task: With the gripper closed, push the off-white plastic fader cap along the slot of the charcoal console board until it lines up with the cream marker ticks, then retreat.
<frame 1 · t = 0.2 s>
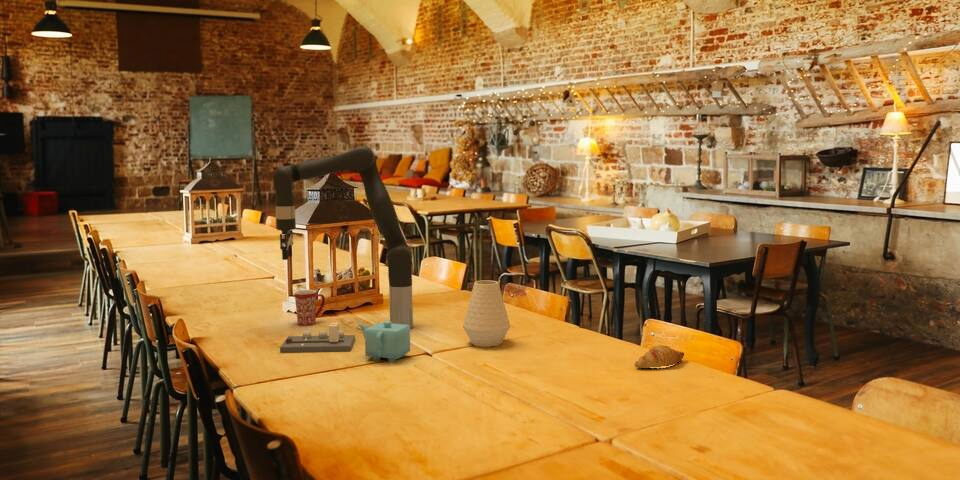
hand: (287, 258, 317), 29 cm above the table, fingers open, 8 cm apart
console: (318, 346, 295), on the table
mug: (310, 323, 332), on the table
vase: (486, 344, 297), on the table
croissant: (658, 366, 268), on the table
teapot: (380, 357, 280), on the table
fader: (334, 332, 293), point 6 cm above the table, slide at -6.0 cm
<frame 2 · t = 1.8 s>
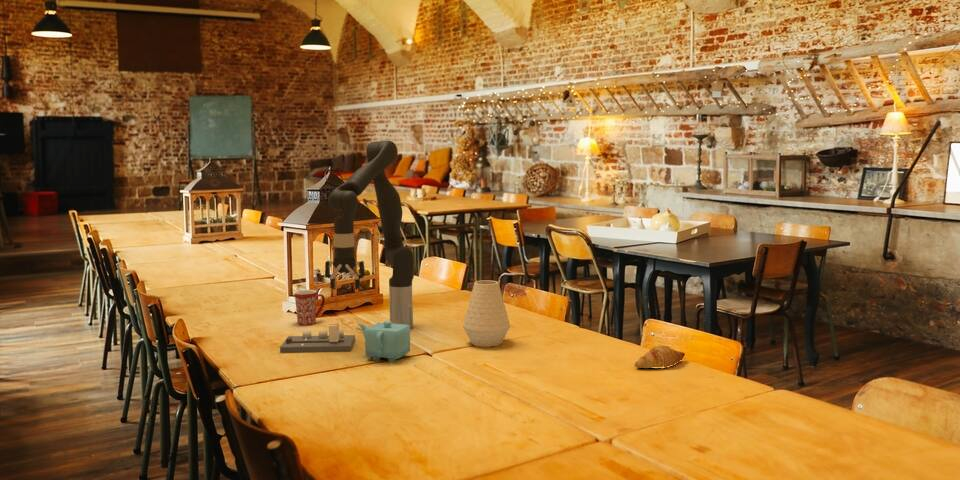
hand: (345, 289, 294), 21 cm above the table, fingers open, 8 cm apart
nothing on the table moved.
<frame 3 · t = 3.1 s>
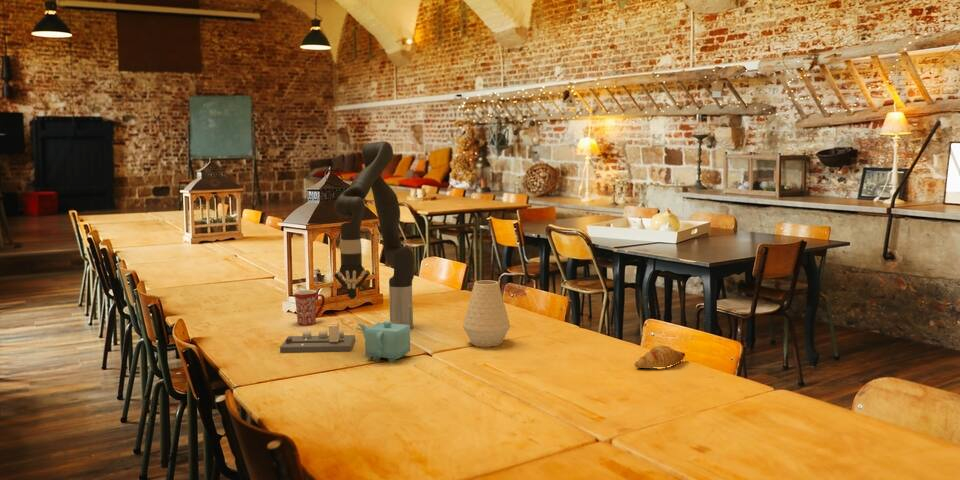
hand: (352, 298, 292), 18 cm above the table, fingers closed
nothing on the table moved.
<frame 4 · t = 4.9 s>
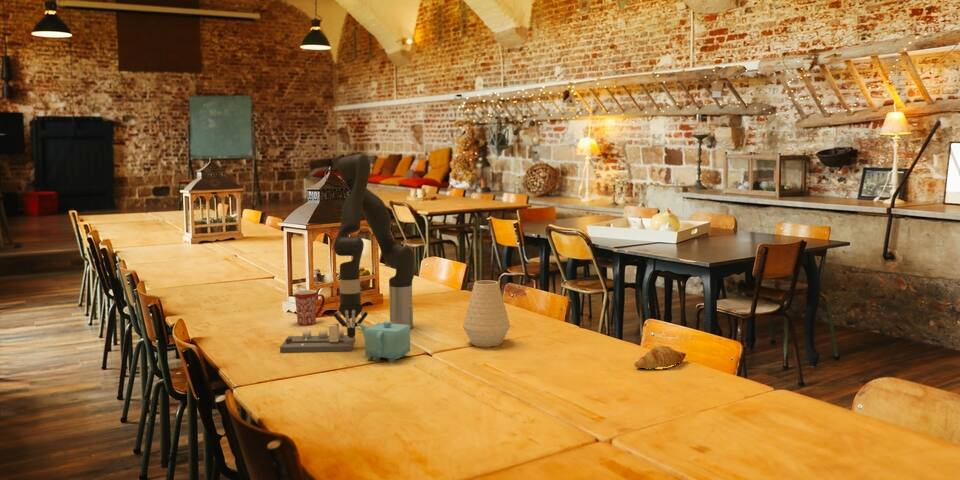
hand: (351, 337, 294), 4 cm above the table, fingers closed
nothing on the table moved.
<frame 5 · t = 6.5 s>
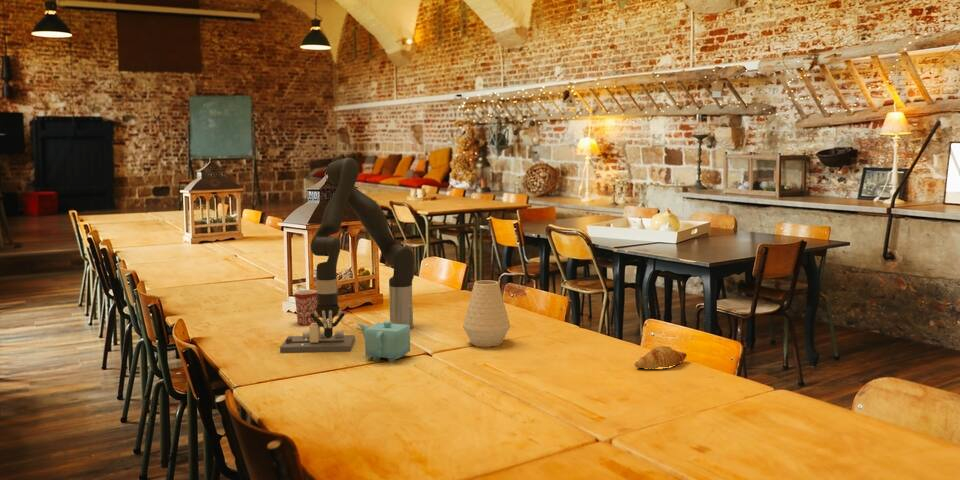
hand: (328, 337, 293), 4 cm above the table, fingers closed
fader: (314, 332, 293), point 6 cm above the table, slide at 1.0 cm, touching hand
everything else where it was.
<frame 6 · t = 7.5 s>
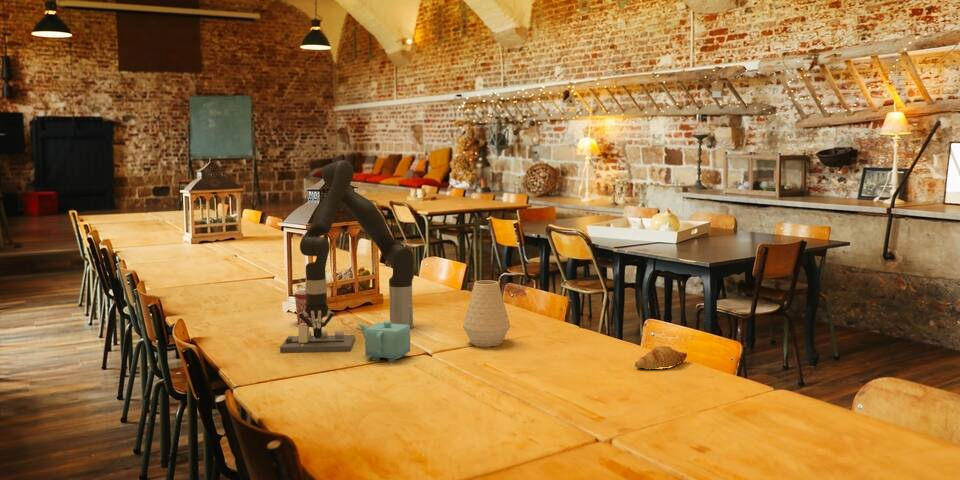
hand: (317, 337, 293), 4 cm above the table, fingers closed
fader: (303, 332, 293), point 6 cm above the table, slide at 4.9 cm, touching hand
everything else where it was.
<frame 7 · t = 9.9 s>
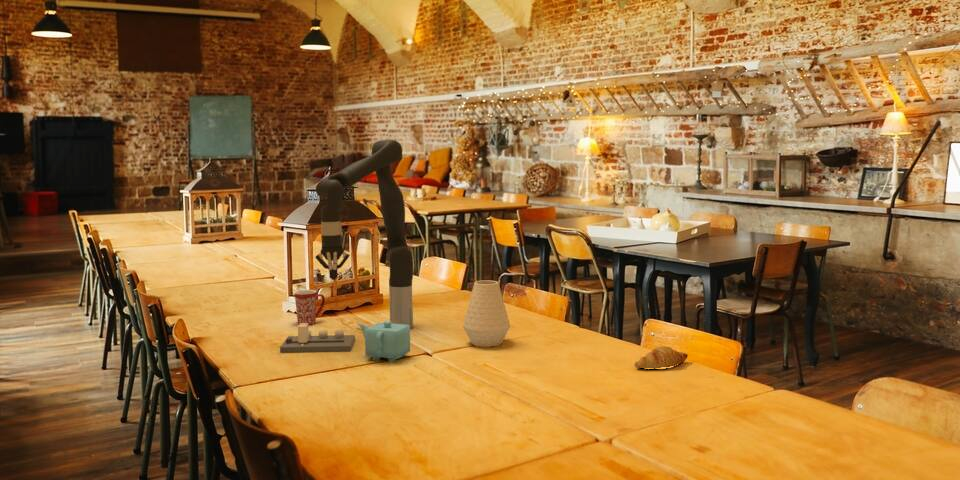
hand: (333, 279, 299), 24 cm above the table, fingers closed
fader: (303, 332, 293), point 6 cm above the table, slide at 5.2 cm
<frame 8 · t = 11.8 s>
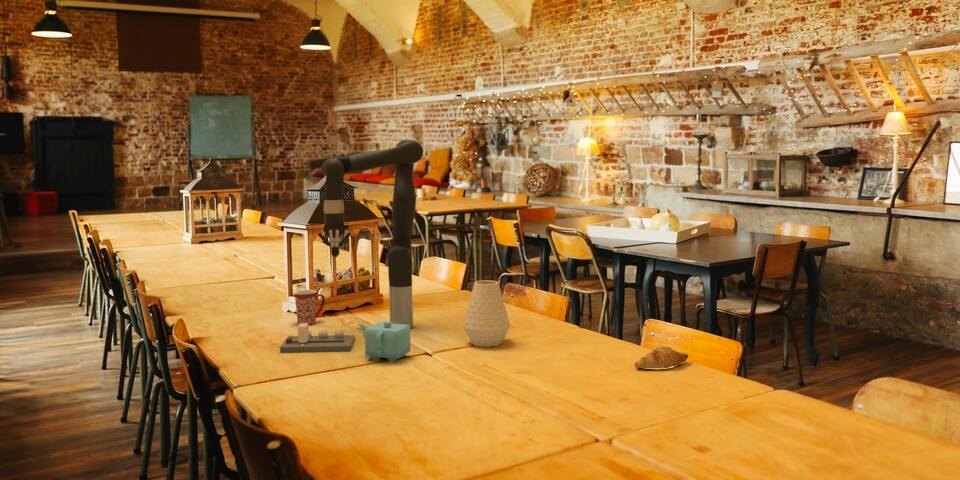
hand: (335, 256, 307), 31 cm above the table, fingers closed
at the end: fader slide at 5.2 cm; fader 0.2 cm from the target spot, point 5.6 cm above the table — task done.
